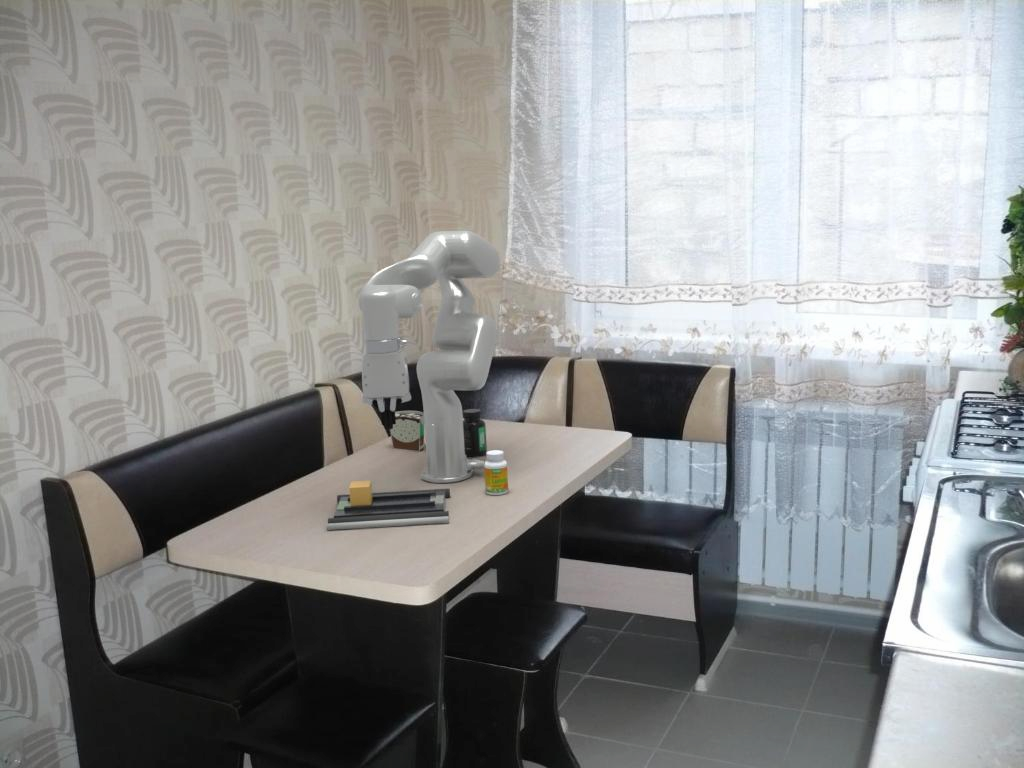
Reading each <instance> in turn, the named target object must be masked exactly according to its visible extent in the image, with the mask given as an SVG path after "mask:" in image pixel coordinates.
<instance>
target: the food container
mask: <svg viewBox="0 0 1024 768" xmlns="http://www.w3.org/2000/svg"><path fill="white" fill-rule="evenodd" d="M395 418H396V424H393V429H389V432H390V438H391V446H392V450H399V451H405V452H406V451H407V452H413V453H414V452H415V453H421V452H423V451H424V447H425V425H424V411H418V410H400V411H395Z"/></svg>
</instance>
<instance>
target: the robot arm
mask: <svg viewBox="0 0 1024 768" xmlns="http://www.w3.org/2000/svg"><path fill="white" fill-rule="evenodd" d="M500 266H501V257H500V253H499V251H498V249H497V248H496V247H495V245H494V244H492V243H491V242H490V241H489V240H487V239H486V238H484V237H483V236H481V235H479V234H478V233H476V232H474V231H471V230H439V231H435V232H431V233H430V234H428V235H427V236H426V237H424V239H423V240H422V241H421V242H420V244H418V245H417V247H416V249H414V250H413V252H412V253H411V254H410V255H409V257H407V258H405V259H402V260H399V261H398V262H396V263H394V264H392V265H389V266H387V267H385V268H382V269H381V270H379V271H377V272H376V273H374V274H373V275H372V276H371V277H370V279H368V281H367V282H366V283H365V284H364V285H363V287H362V289H361V290H360V293H359V297H358V307H359V310H360V312H361V314H362V321H363V322H362V323H363V333H364V345H365V352H363V353H362V360H361V361H362V362H361V383H362V384H361V385H362V395H363V397H362V403H363V404H365V405H366V404H367V405H373V406H374V407H375V408H376V409H378V410H379V412H380V414H381V415H380V416H381V425H382V426H384V429H385V430H390V429H393V424H396V418H395V412H396V409H398V407H399V406H400V405H401V404H402V403H406V402H410V401H412V395H411V391H410V386H411V385H410V377H409V375H410V374H409V369H408V363H407V361H408V360H407V357H406V353H405V351H404V349H403V350H402V347H405V346H407V339H402V338H400V329H399V328H400V327H399V326H400V325H399V320H400V319H401V320H403V319H411V318H414V317H416V316H417V315H418V314H419V313H420V312H421V310H422V308H423V304H424V299H423V294H422V293H421V290H423V289H428V288H429V287H431V286H433V285H434V284H436V282H437V281H438V284H439V288H440V292H441V293H440V294H441V299H440V304H439V308H438V312H437V315H436V320H435V323H434V326H433V331H432V343H433V345H434V346H435V347H436V348H437V349H438V350H432V351H428V352H425V353H423V354H422V355H421V356H420V357H419V359H418V360H417V363H416V375H417V376H416V377H417V380H418V384H419V388H420V391H421V399H422V407H423V413H424V441H425V450H426V451H425V453H426V467H427V468H426V469H425V470H423V471H421V478H422V480H423V481H425V482H428V483H429V482H430V483H436V484H437V483H439V484H440V483H441V484H444V483H445V484H446V483H456V482H462V481H464V480H466V479H467V480H468V479H469V478H471V477H472V476H473V470H472V469H477V470H478V469H484V463H485V462H484V460H479V458H478V459H469V458H468V457H466V455H465V448H464V431H463V420H464V418H463V406H462V403H461V400H460V398H459V397H458V396H457V393H456V392H455V391H468V392H469V391H471V392H472V391H473V392H474V391H479V390H481V389H482V388H483V387H485V384H486V382H487V380H488V377H489V373H490V368H491V364H492V359H493V355H494V351H495V348H496V344H497V343H496V342H497V326H496V322H495V320H494V319H493V318H492V317H491V316H490V315H488V314H487V313H481V312H480V313H477V312H474V309H475V304H476V301H475V298H474V295H473V293H472V291H471V290H470V287H469V288H468V286H467V285H466V284H465V282H464V280H463V279H490V278H492V277H494V276H496V275H497V274H498V271H499V269H500ZM385 399H390V405H389V406H388V407H387V406H386V403H385Z"/></svg>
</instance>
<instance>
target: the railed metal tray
mask: <svg viewBox="0 0 1024 768" xmlns="http://www.w3.org/2000/svg"><path fill="white" fill-rule="evenodd" d="M372 498H373V500H372V503H371V505H359V506H351V504H350V497H341V498H340V501H339V504H338V503H337V506H336V509H335V511H334V514H333V518H340V517H357V516H373V515H390V514H406V513H423V512H439V511H446V503H447V502H446V500H447V499H446V498H447V497H446V496H445V491H433V492H417V493H400V494H383V495H372Z"/></svg>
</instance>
